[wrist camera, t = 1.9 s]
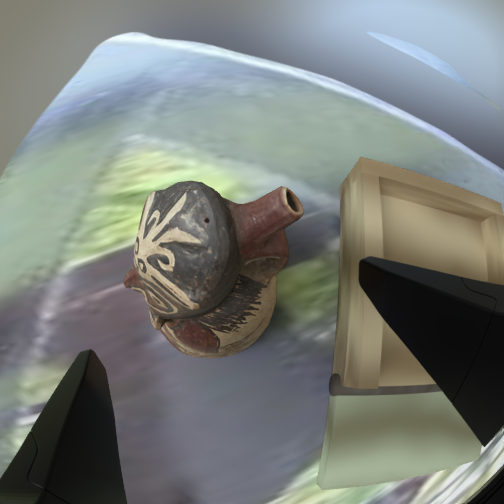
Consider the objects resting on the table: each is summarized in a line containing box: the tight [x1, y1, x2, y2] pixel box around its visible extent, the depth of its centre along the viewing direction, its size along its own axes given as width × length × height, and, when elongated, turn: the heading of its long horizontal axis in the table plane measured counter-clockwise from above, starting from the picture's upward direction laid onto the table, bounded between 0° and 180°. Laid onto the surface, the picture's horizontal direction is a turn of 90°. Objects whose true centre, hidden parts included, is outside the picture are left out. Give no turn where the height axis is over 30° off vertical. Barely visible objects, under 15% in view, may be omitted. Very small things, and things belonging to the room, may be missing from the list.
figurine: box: [124, 181, 304, 358], centre depth 14 cm, size 7×7×12 cm
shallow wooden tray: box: [316, 157, 504, 490], centre depth 18 cm, size 21×14×4 cm
